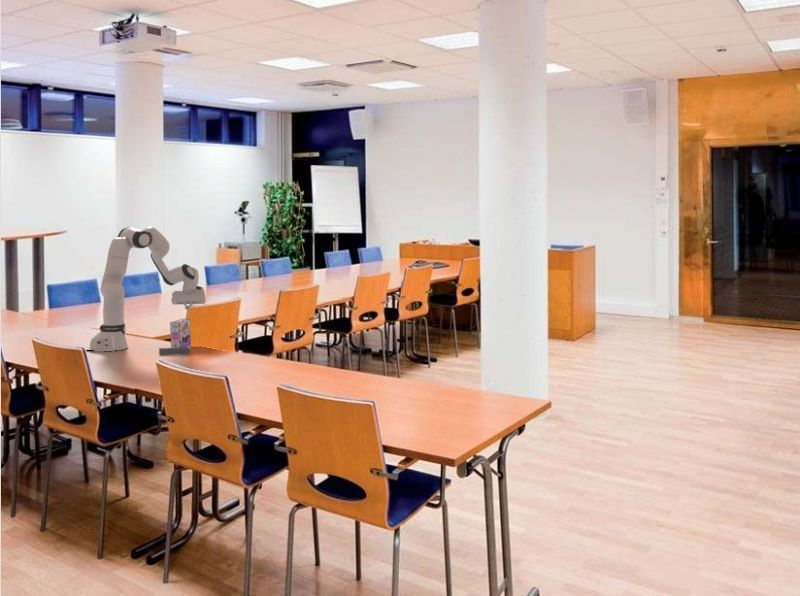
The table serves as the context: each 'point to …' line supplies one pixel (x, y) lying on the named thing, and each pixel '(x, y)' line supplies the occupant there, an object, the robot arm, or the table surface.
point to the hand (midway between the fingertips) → (187, 308)
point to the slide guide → (175, 350)
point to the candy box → (180, 333)
